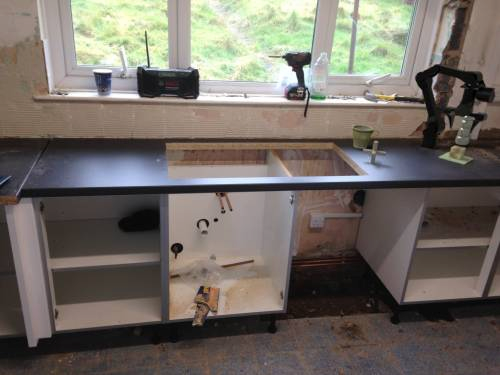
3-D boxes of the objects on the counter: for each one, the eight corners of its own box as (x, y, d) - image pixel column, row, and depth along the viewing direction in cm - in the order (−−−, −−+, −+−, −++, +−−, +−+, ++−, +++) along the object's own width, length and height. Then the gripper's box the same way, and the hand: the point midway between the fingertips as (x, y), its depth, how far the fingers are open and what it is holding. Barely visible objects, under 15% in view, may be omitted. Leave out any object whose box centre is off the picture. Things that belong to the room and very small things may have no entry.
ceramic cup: (349, 148, 211) (352, 129, 207) (350, 142, 220) (352, 124, 216) (376, 151, 209) (379, 132, 205) (375, 145, 217) (379, 126, 213)
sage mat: (438, 157, 205) (438, 156, 205) (448, 152, 213) (448, 152, 213) (464, 164, 197) (464, 163, 197) (473, 159, 205) (473, 158, 205)
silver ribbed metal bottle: (469, 147, 223) (479, 109, 215) (455, 145, 224) (465, 108, 216) (466, 143, 229) (475, 107, 221) (452, 142, 230) (462, 105, 222)
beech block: (448, 157, 205) (451, 147, 203) (452, 155, 208) (455, 145, 206) (459, 160, 202) (462, 150, 200) (463, 158, 205) (465, 148, 203)
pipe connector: (384, 160, 197) (388, 140, 193) (383, 167, 188) (387, 146, 184) (362, 157, 199) (365, 137, 195) (360, 164, 191) (363, 143, 187)
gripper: (442, 97, 200) (434, 129, 207) (483, 104, 189) (474, 138, 195) (451, 94, 208) (443, 125, 214) (491, 101, 196) (482, 134, 202)
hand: (460, 131), depth 206 cm, fingers open, 9 cm apart
